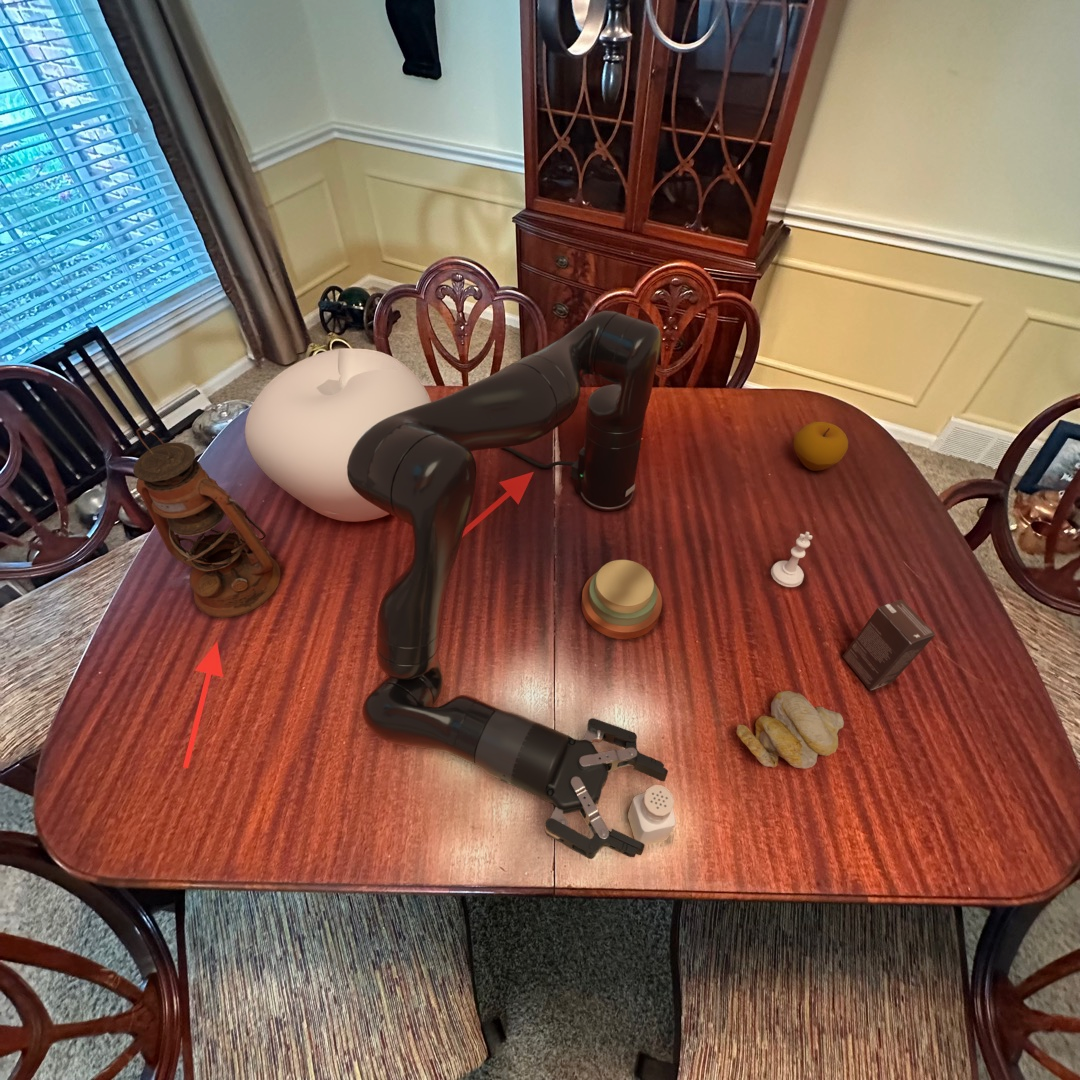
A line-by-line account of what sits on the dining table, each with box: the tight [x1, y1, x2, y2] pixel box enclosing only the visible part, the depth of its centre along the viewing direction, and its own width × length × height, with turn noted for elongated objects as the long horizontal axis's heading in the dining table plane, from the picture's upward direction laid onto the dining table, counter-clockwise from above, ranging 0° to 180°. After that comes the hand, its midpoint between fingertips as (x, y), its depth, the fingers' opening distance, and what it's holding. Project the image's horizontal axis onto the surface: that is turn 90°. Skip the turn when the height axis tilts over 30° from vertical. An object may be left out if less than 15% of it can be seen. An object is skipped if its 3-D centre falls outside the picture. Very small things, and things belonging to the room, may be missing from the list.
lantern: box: [132, 427, 281, 619], centre depth 83 cm, size 17×13×30 cm
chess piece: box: [770, 531, 813, 588], centre depth 92 cm, size 5×5×10 cm
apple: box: [792, 420, 849, 472], centre depth 109 cm, size 9×9×9 cm
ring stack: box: [580, 559, 663, 640], centre depth 89 cm, size 12×12×6 cm
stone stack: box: [736, 690, 845, 770], centre depth 76 cm, size 10×6×15 cm
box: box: [842, 599, 937, 691], centre depth 80 cm, size 6×4×12 cm
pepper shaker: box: [627, 784, 677, 846], centre depth 67 cm, size 4×4×10 cm
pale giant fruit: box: [244, 347, 432, 523], centre depth 98 cm, size 28×27×25 cm
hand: (655, 811), depth 66 cm, fingers open, 8 cm apart
